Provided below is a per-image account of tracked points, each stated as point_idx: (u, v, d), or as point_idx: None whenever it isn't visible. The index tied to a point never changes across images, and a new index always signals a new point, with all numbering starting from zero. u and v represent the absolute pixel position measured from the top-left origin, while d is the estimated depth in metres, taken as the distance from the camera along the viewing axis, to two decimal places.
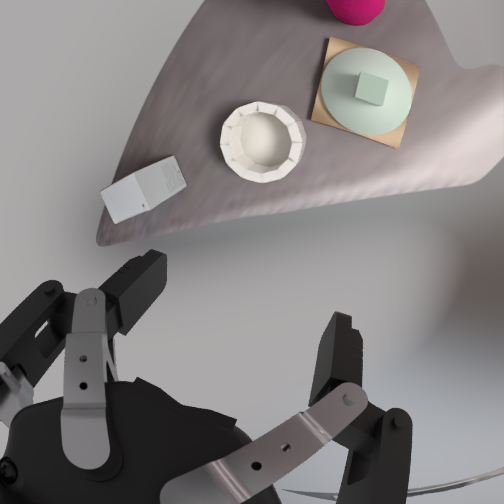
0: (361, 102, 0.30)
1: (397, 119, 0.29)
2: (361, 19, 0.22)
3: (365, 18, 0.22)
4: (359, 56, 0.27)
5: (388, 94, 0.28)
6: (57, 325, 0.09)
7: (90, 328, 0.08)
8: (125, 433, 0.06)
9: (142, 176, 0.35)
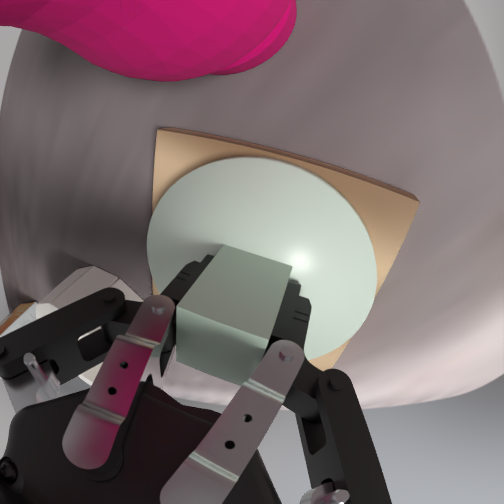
0: None
1: (324, 342, 0.14)
2: (194, 74, 0.07)
3: (207, 69, 0.07)
4: (225, 189, 0.12)
5: (308, 292, 0.13)
6: (109, 334, 0.09)
7: (146, 336, 0.08)
8: (134, 449, 0.05)
9: None
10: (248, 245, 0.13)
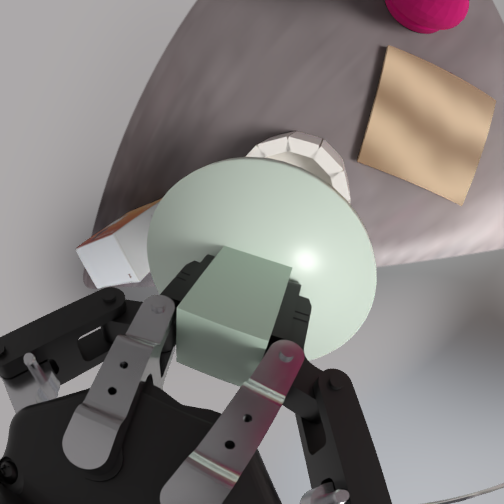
0: None
1: (324, 343, 0.14)
2: (437, 28, 0.13)
3: (443, 28, 0.13)
4: (225, 190, 0.12)
5: (307, 293, 0.13)
6: (109, 334, 0.09)
7: (146, 336, 0.08)
8: (134, 449, 0.05)
9: (126, 236, 0.26)
10: (247, 246, 0.13)
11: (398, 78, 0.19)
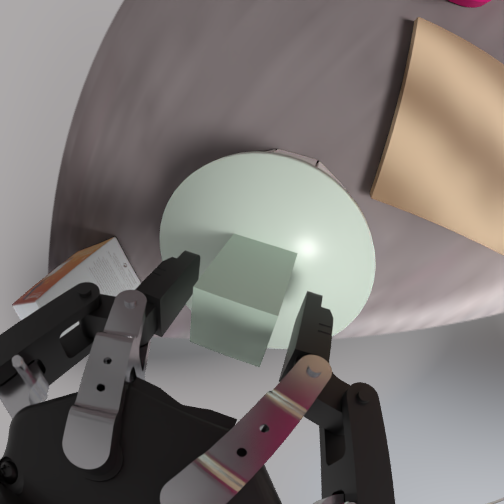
0: None
1: None
2: None
3: None
4: (235, 182, 0.13)
5: (311, 278, 0.14)
6: (88, 328, 0.09)
7: (123, 330, 0.08)
8: (131, 442, 0.05)
9: None
10: (256, 234, 0.14)
11: (436, 67, 0.11)
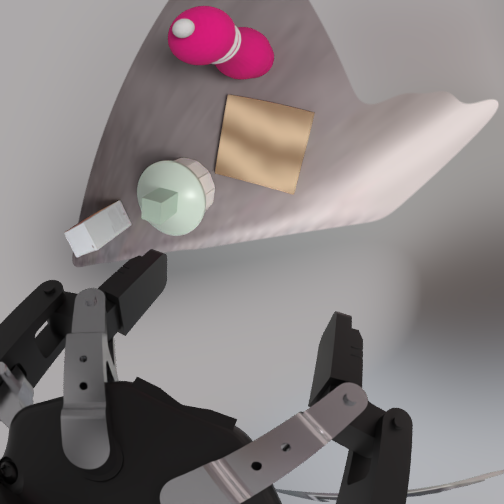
0: None
1: (193, 221, 0.41)
2: (246, 78, 0.30)
3: (250, 77, 0.30)
4: (158, 170, 0.38)
5: (184, 201, 0.40)
6: (57, 325, 0.09)
7: (90, 328, 0.08)
8: (125, 433, 0.06)
9: (91, 224, 0.43)
10: (165, 186, 0.39)
11: (234, 115, 0.36)
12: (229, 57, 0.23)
